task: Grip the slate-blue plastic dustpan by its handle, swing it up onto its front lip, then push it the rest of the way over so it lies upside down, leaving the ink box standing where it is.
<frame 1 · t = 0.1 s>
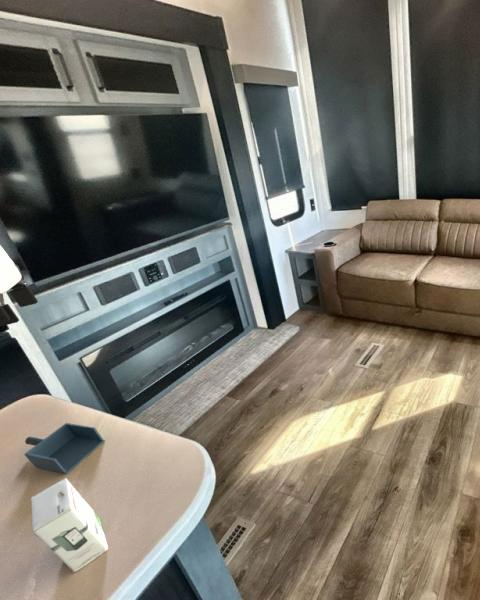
hand: (20, 313, 77), 31 cm above the table, tool pointing down, fingers open, 9 cm apart
dustpan: (55, 445, 82), point 2 cm above the table, hinge at 0.0°
ink box: (88, 544, 63), on the table
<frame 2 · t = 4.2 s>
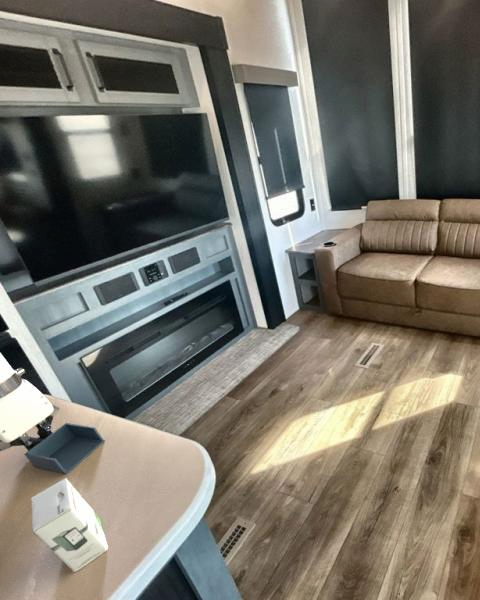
hand: (46, 448, 84), 0 cm above the table, tool pointing down, fingers closed on dustpan, 2 cm apart
dustpan: (55, 445, 82), point 2 cm above the table, hinge at 0.0°, touching gripper
everything else where it was.
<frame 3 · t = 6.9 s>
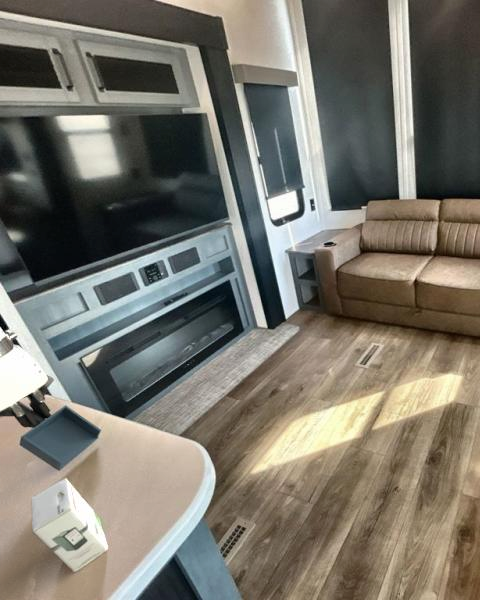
hand: (39, 421, 78), 10 cm above the table, tool pointing down, fingers closed on dustpan, 2 cm apart
dustpan: (48, 427, 78), point 8 cm above the table, hinge at 47.1°, touching gripper
everything else where it was.
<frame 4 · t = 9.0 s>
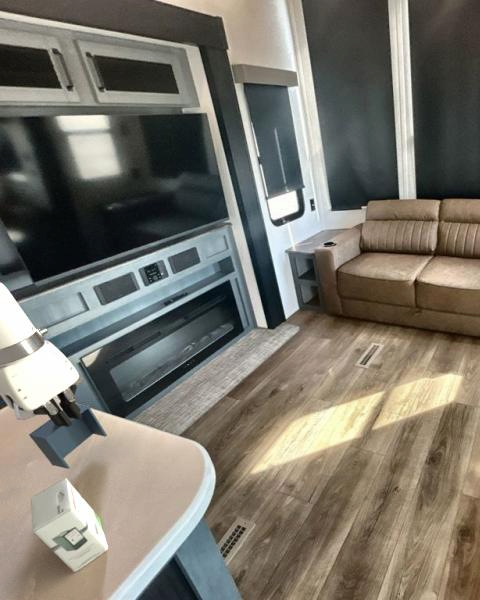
hand: (70, 420, 74), 12 cm above the table, tool pointing down, fingers closed
dustpan: (62, 423, 76), point 10 cm above the table, hinge at 94.2°
everything else where it was.
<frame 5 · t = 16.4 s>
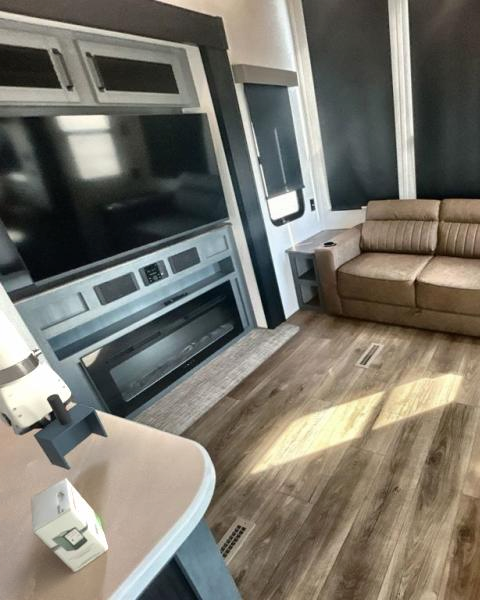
hand: (62, 435, 79), 6 cm above the table, tool pointing down, fingers closed
dustpan: (67, 425, 75), point 10 cm above the table, hinge at 102.8°, touching gripper
everything else where it was.
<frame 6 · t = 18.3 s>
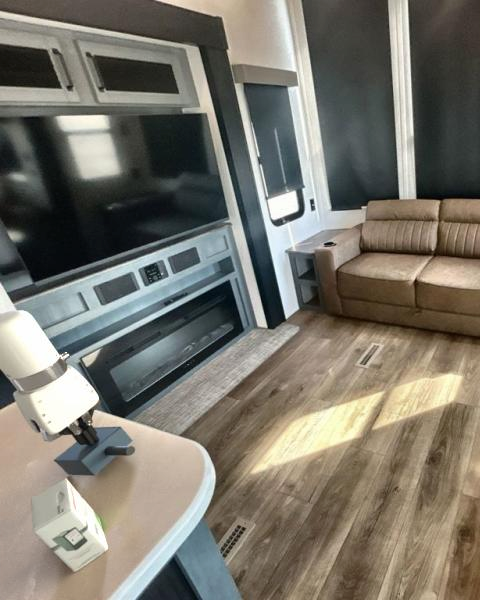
hand: (90, 441, 76), 6 cm above the table, tool pointing down, fingers closed
dustpan: (104, 450, 77), point 4 cm above the table, hinge at 168.7°
everything else where it was.
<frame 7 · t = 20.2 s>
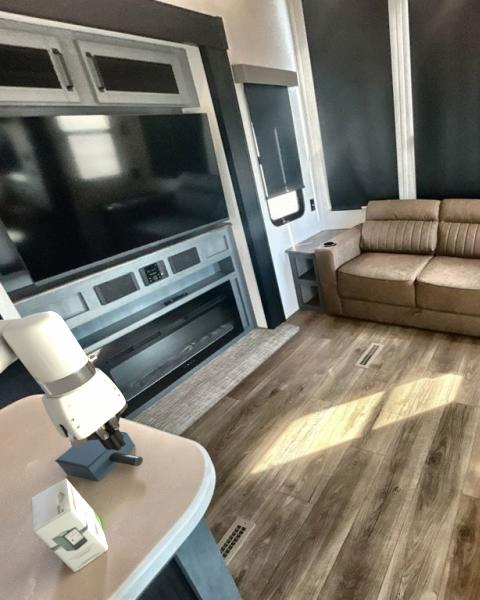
hand: (117, 446, 74), 6 cm above the table, tool pointing down, fingers closed
dustpan: (109, 455, 77), point 2 cm above the table, hinge at 180.0°
everything else where it was.
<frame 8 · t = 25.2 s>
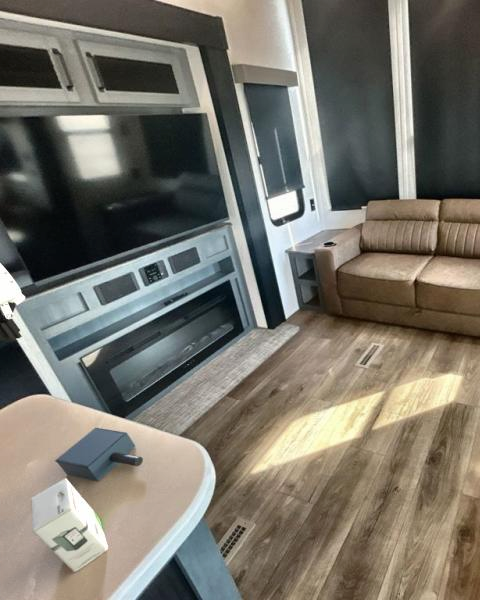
hand: (12, 338, 71), 29 cm above the table, tool pointing down, fingers closed
nothing on the table moved.
at the end: dustpan at +180° (first picture: +0°); ink box moved 0.2 cm from its start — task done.
